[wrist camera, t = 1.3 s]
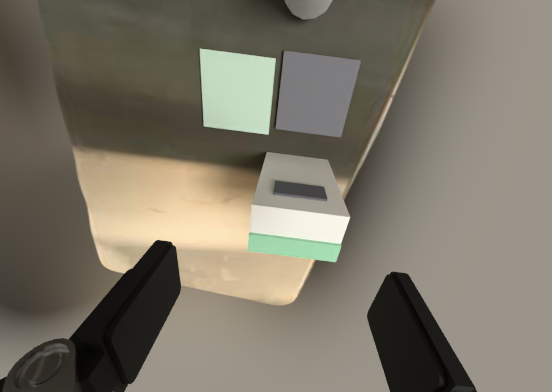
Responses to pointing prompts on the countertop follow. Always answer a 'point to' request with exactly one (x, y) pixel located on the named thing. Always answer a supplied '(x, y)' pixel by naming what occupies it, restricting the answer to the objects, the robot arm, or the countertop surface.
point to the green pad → (237, 90)
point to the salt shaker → (308, 8)
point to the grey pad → (315, 93)
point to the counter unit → (297, 209)
